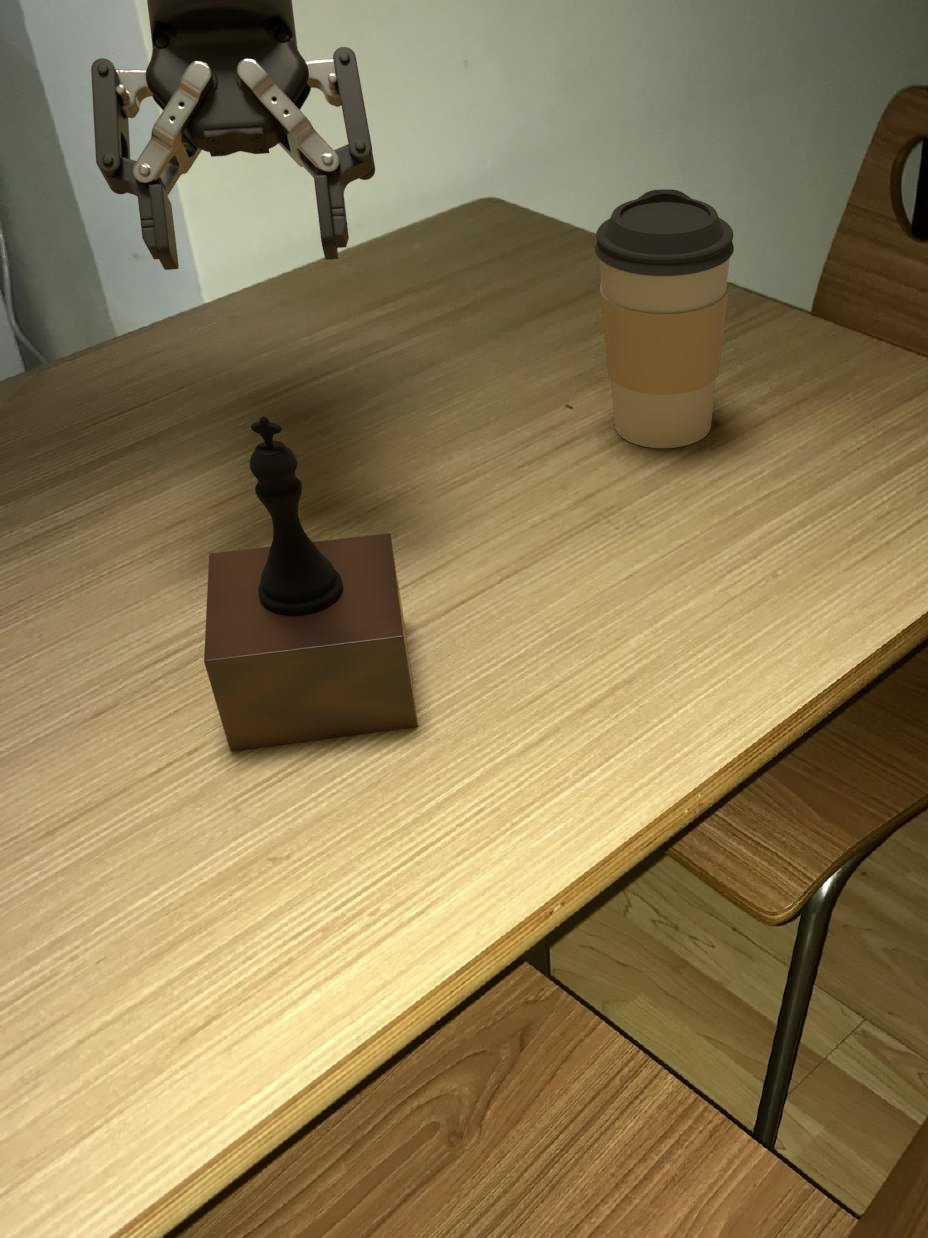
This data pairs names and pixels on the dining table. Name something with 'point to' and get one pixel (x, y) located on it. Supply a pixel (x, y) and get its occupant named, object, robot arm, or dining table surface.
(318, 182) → the robot arm
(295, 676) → the brown metal block
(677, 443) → the coffee cup
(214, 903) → the dining table surface
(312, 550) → the chess piece
